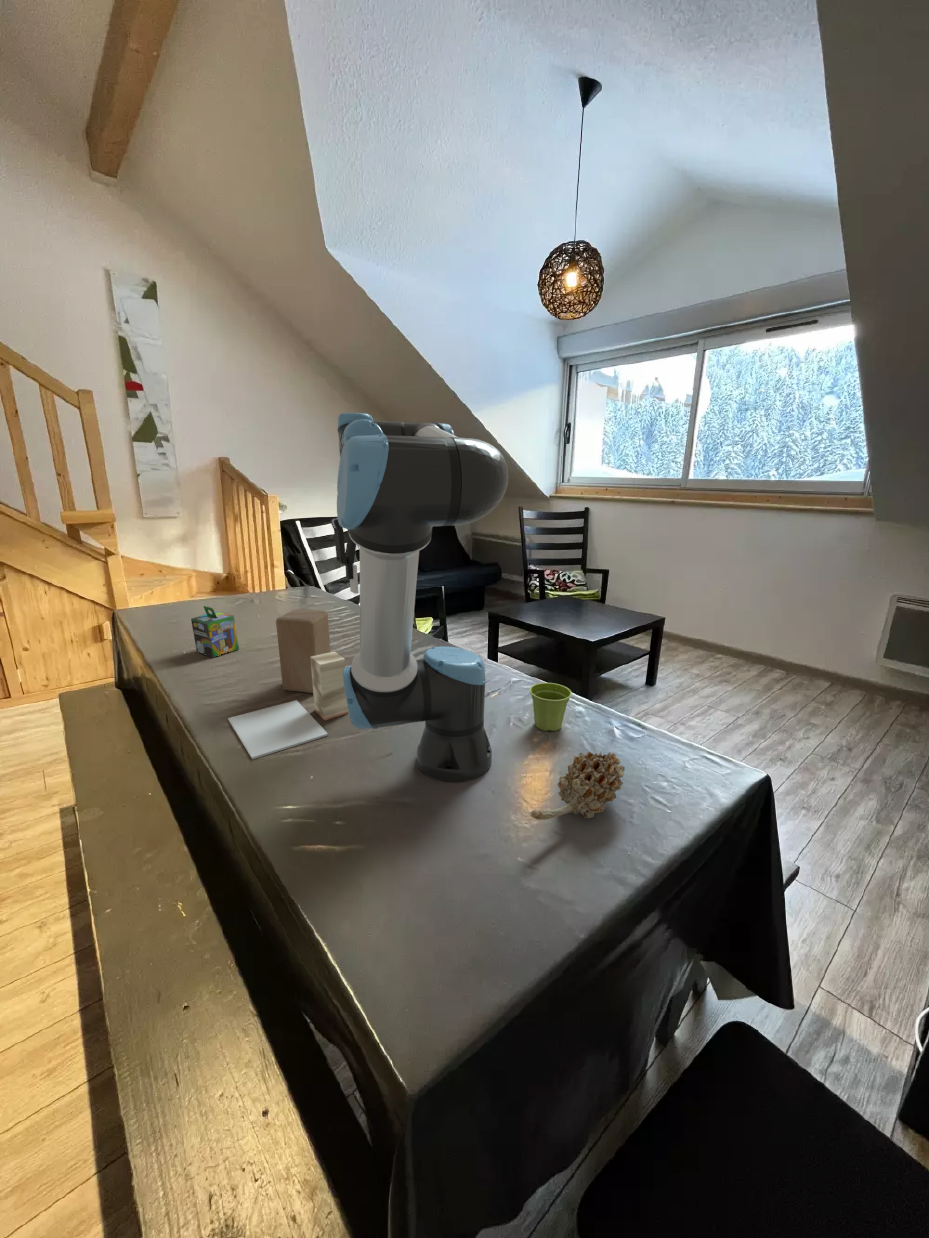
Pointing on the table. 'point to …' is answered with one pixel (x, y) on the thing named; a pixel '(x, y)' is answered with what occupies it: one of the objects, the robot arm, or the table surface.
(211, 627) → the chalk box
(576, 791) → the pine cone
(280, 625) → the block
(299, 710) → the mat
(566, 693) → the plant pot
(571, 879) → the table surface
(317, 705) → the birch block
